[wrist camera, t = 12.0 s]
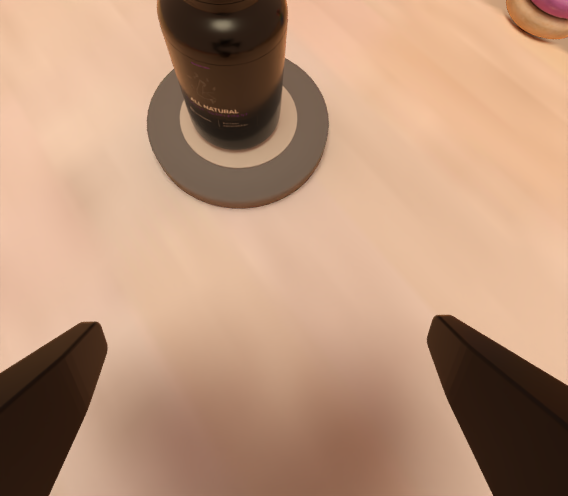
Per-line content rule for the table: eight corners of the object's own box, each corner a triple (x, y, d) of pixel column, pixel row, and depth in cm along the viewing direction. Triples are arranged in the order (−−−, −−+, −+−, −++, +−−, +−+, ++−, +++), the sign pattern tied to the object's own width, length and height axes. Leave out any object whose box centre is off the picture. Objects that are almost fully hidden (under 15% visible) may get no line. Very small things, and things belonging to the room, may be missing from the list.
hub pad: (280, 238, 24) (281, 230, 22) (118, 161, 25) (108, 149, 23) (350, 100, 28) (356, 85, 26) (208, 39, 29) (204, 21, 27)
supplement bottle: (205, 164, 23) (143, -11, 12) (182, 91, 25) (108, -125, 13) (294, 140, 24) (317, -44, 13) (265, 71, 26) (263, -146, 14)
